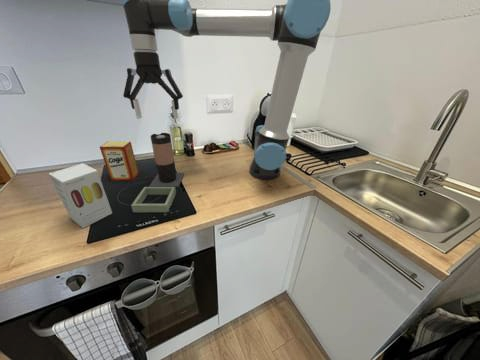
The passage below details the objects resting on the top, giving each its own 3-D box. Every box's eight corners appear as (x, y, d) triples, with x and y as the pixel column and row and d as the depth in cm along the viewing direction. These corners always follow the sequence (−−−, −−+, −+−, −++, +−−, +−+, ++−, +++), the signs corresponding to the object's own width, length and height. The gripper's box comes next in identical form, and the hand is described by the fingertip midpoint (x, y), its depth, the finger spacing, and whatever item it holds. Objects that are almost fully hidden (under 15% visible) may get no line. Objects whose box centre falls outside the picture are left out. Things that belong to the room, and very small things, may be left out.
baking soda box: (111, 180, 87) (99, 145, 79) (117, 173, 93) (107, 140, 85) (133, 180, 88) (123, 146, 80) (138, 173, 93) (130, 140, 85)
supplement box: (82, 229, 61) (59, 182, 53) (69, 218, 65) (45, 173, 57) (113, 212, 68) (97, 169, 60) (99, 203, 73) (83, 162, 64)
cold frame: (176, 193, 80) (175, 186, 78) (168, 212, 70) (166, 205, 68) (145, 193, 79) (144, 186, 78) (133, 212, 69) (131, 205, 67)
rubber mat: (184, 173, 94) (184, 172, 94) (178, 187, 84) (178, 186, 84) (158, 173, 94) (158, 172, 93) (149, 187, 83) (149, 186, 83)
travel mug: (171, 184, 85) (164, 139, 75) (155, 182, 86) (146, 137, 76) (179, 176, 91) (174, 133, 81) (164, 174, 92) (157, 131, 82)
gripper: (186, 53, 68) (192, 116, 79) (112, 51, 67) (128, 115, 78) (181, 52, 62) (189, 120, 72) (99, 49, 61) (119, 120, 71)
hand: (157, 118), depth 75 cm, fingers open, 13 cm apart
